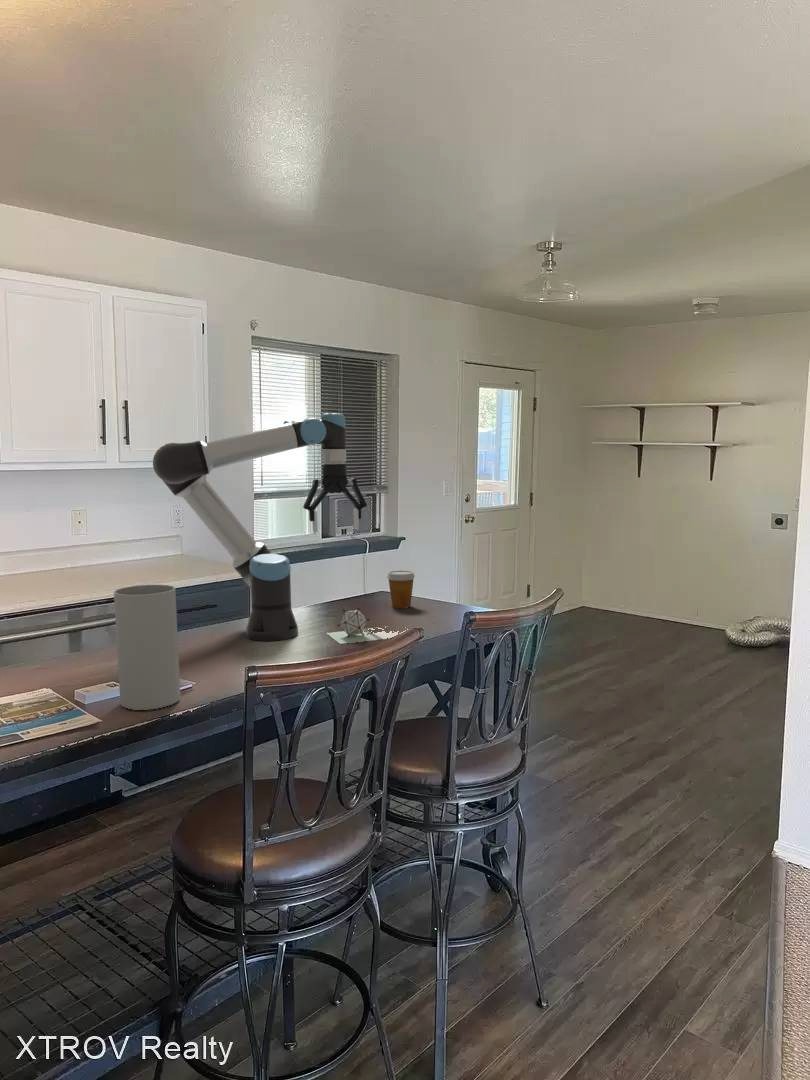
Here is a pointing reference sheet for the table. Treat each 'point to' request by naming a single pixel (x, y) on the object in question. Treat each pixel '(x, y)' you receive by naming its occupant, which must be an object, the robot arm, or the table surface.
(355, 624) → the game die
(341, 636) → the game board
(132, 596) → the cylinder vase
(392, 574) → the disposable coffee cup
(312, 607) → the table surface
